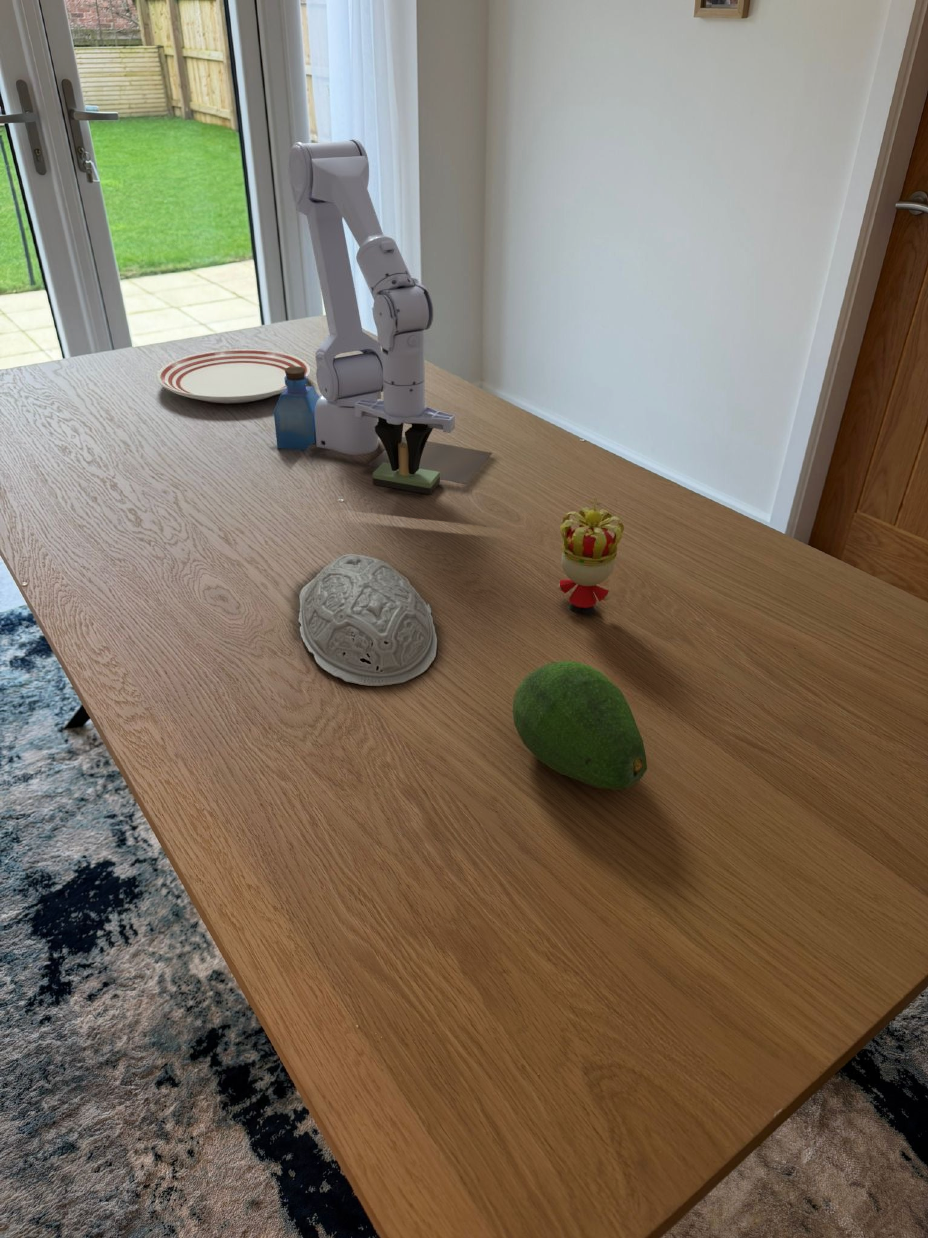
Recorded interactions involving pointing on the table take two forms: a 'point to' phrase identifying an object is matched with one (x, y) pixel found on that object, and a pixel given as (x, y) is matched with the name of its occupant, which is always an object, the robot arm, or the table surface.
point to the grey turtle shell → (366, 622)
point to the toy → (588, 556)
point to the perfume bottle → (296, 412)
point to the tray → (446, 461)
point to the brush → (406, 475)
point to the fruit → (579, 725)
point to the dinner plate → (229, 375)
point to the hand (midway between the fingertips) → (405, 469)
